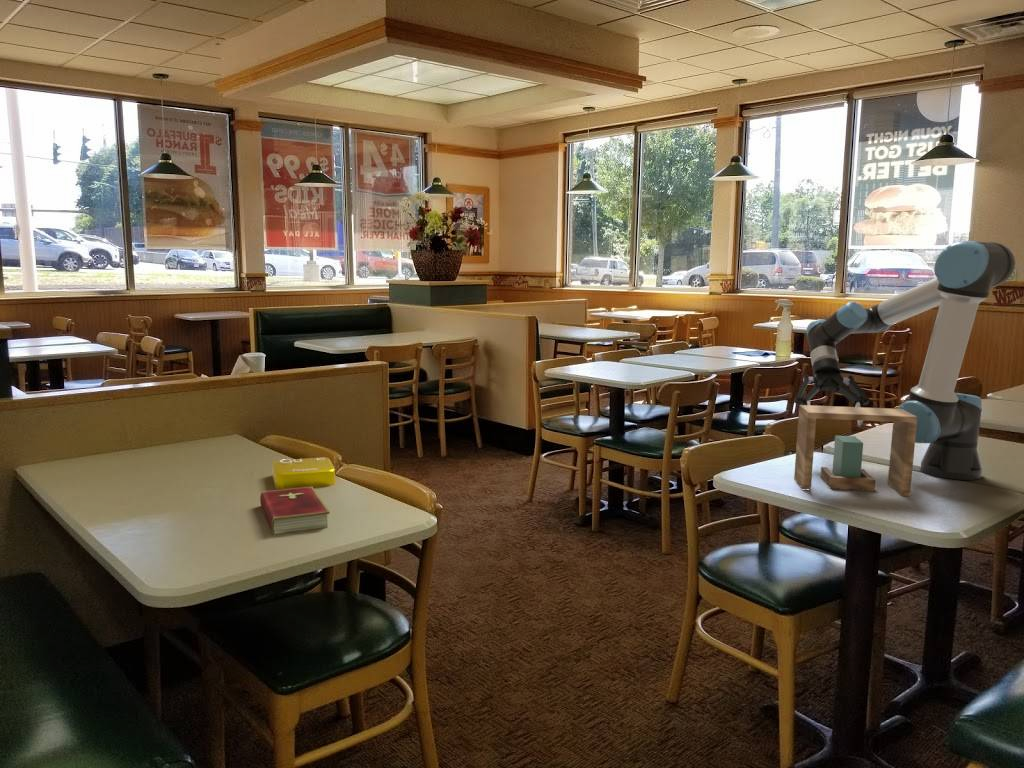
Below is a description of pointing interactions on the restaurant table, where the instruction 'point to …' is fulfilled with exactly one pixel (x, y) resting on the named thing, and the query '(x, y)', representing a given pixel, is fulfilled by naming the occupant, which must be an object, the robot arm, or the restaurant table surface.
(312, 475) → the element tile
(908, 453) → the wooden arch
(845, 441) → the green rectangular block
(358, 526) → the restaurant table surface
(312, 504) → the hardcover book
